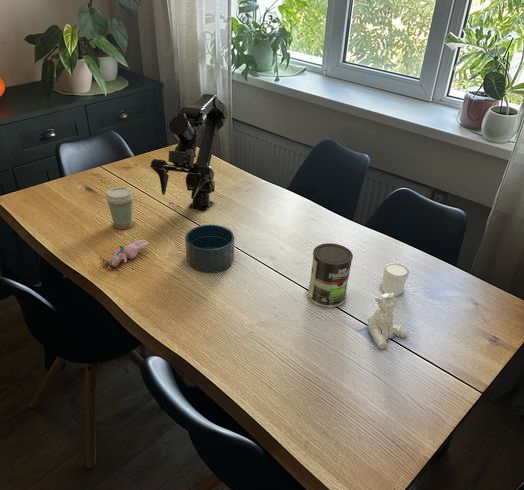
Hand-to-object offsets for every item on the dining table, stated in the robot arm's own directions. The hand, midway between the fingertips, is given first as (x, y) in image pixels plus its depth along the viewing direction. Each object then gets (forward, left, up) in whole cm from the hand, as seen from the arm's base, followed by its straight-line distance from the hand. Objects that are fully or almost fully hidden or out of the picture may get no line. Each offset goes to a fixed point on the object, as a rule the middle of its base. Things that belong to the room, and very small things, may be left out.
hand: (177, 196), depth 151 cm
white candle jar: (-2, +68, -15) cm, 69 cm away
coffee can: (+9, +52, -15) cm, 54 cm away
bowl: (+7, +15, -14) cm, 22 cm away
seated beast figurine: (+18, +69, -15) cm, 72 cm away
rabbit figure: (+18, -7, -15) cm, 24 cm away
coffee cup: (+2, -20, -15) cm, 25 cm away
